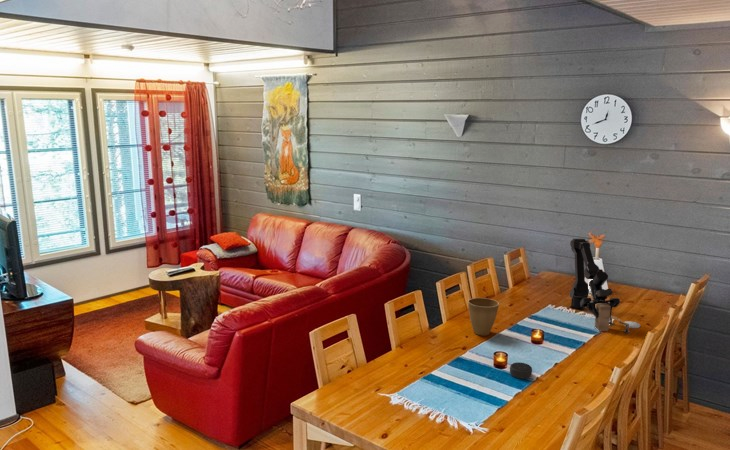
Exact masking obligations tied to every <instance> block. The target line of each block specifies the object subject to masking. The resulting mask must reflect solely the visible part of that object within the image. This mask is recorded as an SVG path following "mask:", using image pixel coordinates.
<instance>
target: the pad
mask: <svg viewBox="0 0 730 450" xmlns="http://www.w3.org/2000/svg"><path fill="white" fill-rule="evenodd" d="M624 322H625V323H628V324H629V327H628V329H629V328H630V329H640V328H641V324H640V323H639V322H636V321H627V320H626V321H624ZM623 326H624V327H626V325H623Z"/></svg>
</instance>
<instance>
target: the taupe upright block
mask: <svg viewBox="0 0 730 450" xmlns="http://www.w3.org/2000/svg"><path fill="white" fill-rule="evenodd" d="M595 307H596V311H597V314H598V318H596V317H595V316H594V317H595V319H594V328H595V327H596V328H597V329H598V330H601V331H600V332H609V329H610V325H609V321H610V308H611V306H610V305H608V304H607V303H597V304H596V305H595ZM596 328H595V329H596ZM597 329H596V330H597ZM598 330H597V331H598Z"/></svg>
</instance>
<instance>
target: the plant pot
mask: <svg viewBox="0 0 730 450" xmlns="http://www.w3.org/2000/svg"><path fill="white" fill-rule="evenodd" d="M467 304H468V313H469V314H468V315H469V319H470V323H471V327H472V330H473V333H474V334H475V335H478V336H489V335H490V333H491V331H492V328H493V326H494V324H495V321H496V319H497V313H498V309H499V306H500V303H499V301H497V300H495V299H491V298H488V297H487V298H485V297H475V298H470V299H468V300H467Z"/></svg>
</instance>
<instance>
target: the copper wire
mask: <svg viewBox="0 0 730 450" xmlns="http://www.w3.org/2000/svg"><path fill="white" fill-rule="evenodd" d="M613 320H616V321H617V323H618V324H621V325H623V326H624V325H626V326H625V329H624V330H623V331H622V332H623V333H625V334H630V333H631V331H630V330H629V324H628V323H625V322H626V321H622V320H621V319H620V318H619V317H617V316H615V315H611V318H610V319H609V324H610V325H609V326H614V325H615V323H614V322H613Z"/></svg>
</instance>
